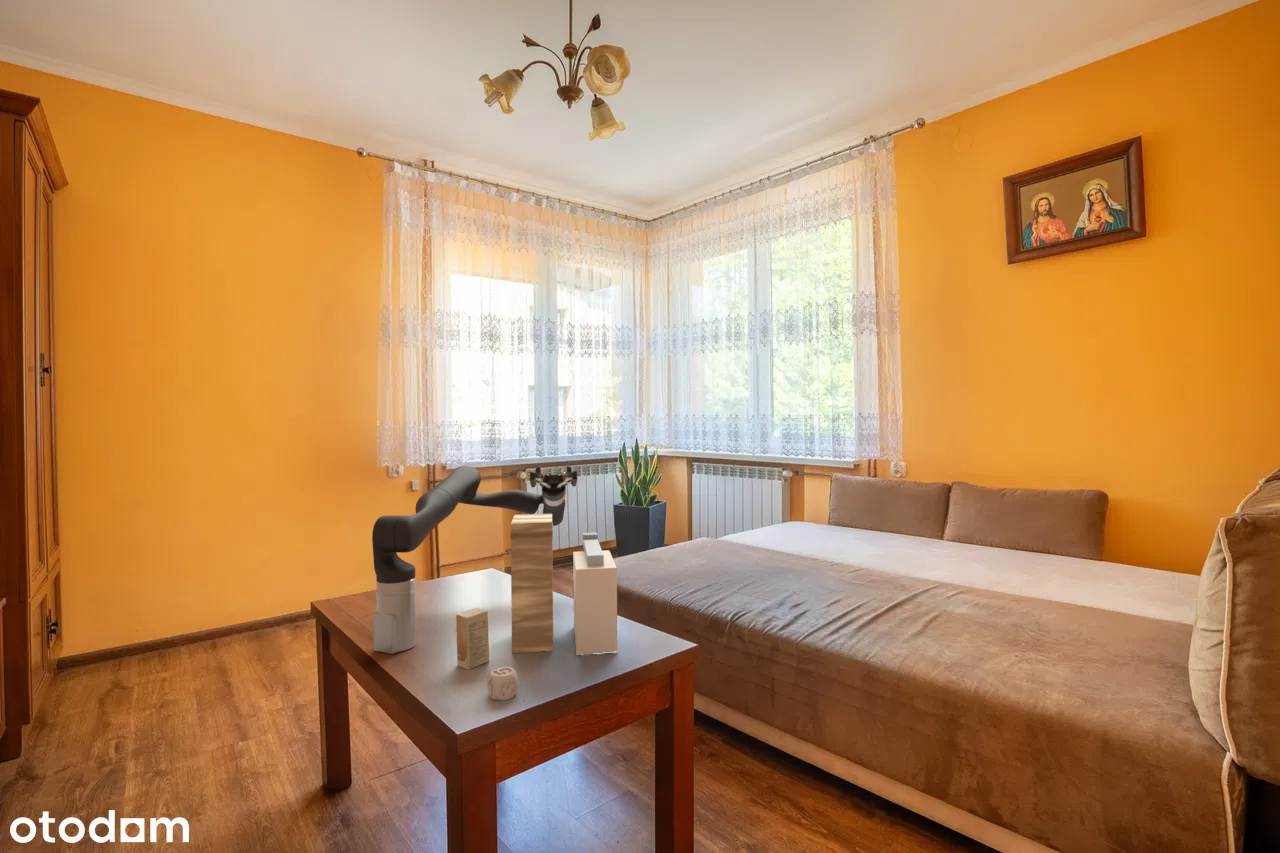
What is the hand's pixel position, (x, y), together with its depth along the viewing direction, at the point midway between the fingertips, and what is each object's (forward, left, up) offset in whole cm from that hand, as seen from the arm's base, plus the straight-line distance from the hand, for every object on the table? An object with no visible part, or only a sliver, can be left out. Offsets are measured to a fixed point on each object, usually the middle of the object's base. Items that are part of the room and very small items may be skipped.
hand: (553, 468), depth 175 cm
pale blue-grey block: (-10, -18, -22) cm, 30 cm away
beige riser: (-15, -20, -43) cm, 50 cm away
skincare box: (-39, 0, -43) cm, 58 cm away
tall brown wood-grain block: (-22, -6, -43) cm, 48 cm away
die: (-50, -16, -43) cm, 68 cm away
